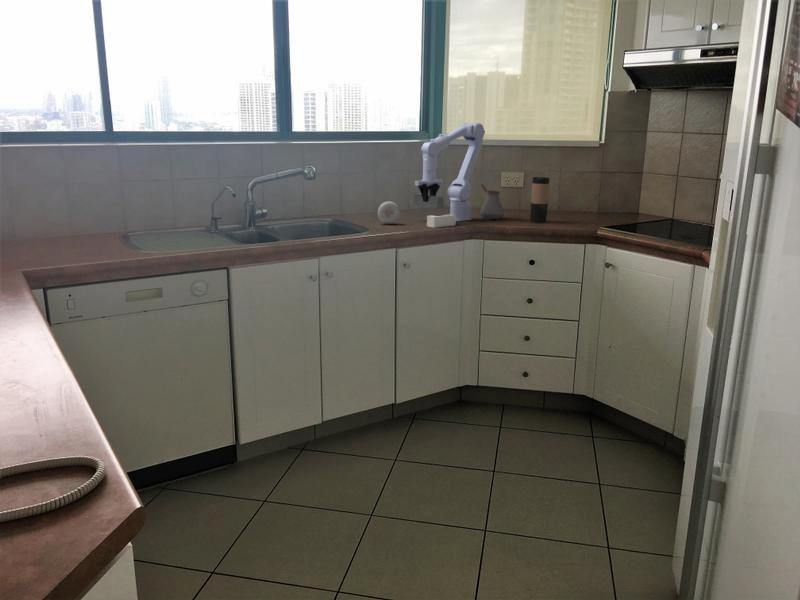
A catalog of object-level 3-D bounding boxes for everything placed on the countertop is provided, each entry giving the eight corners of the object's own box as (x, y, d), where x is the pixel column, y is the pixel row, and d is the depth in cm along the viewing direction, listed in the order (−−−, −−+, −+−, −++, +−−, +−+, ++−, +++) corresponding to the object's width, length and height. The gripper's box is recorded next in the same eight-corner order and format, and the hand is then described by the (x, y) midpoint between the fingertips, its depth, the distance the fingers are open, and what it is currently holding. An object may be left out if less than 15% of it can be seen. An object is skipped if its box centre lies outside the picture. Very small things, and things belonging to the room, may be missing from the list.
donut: (398, 223, 295) (399, 200, 293) (400, 224, 292) (401, 201, 290) (376, 223, 293) (376, 201, 290) (378, 225, 290) (378, 201, 287)
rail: (419, 204, 304) (420, 193, 303) (443, 207, 292) (443, 196, 291) (413, 204, 302) (414, 193, 301) (437, 208, 290) (437, 196, 289)
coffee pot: (508, 220, 311) (509, 187, 307) (484, 220, 308) (486, 187, 304) (490, 214, 331) (492, 183, 327) (469, 214, 328) (470, 183, 324)
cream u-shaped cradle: (448, 224, 295) (448, 213, 294) (455, 225, 292) (455, 215, 291) (426, 226, 288) (427, 215, 286) (434, 227, 284) (434, 217, 283)
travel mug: (545, 221, 309) (548, 177, 304) (547, 223, 302) (550, 178, 297) (528, 220, 310) (531, 176, 305) (530, 222, 303) (533, 178, 298)
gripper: (435, 169, 300) (435, 199, 304) (410, 170, 292) (410, 201, 295) (446, 170, 295) (445, 201, 298) (421, 171, 286) (420, 202, 290)
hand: (428, 201), depth 296 cm, fingers closed on rail, 3 cm apart
